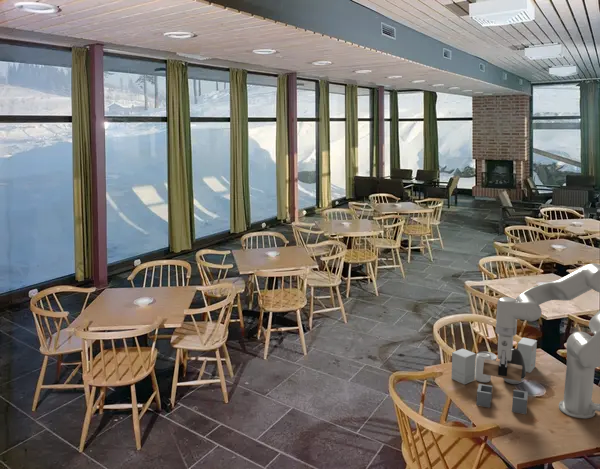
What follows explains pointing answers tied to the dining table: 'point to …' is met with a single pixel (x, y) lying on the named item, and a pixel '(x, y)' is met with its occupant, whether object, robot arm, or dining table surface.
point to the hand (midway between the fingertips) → (502, 372)
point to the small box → (528, 352)
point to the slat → (512, 370)
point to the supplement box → (463, 366)
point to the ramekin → (493, 356)
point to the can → (479, 367)
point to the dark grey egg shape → (517, 360)
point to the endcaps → (517, 405)
